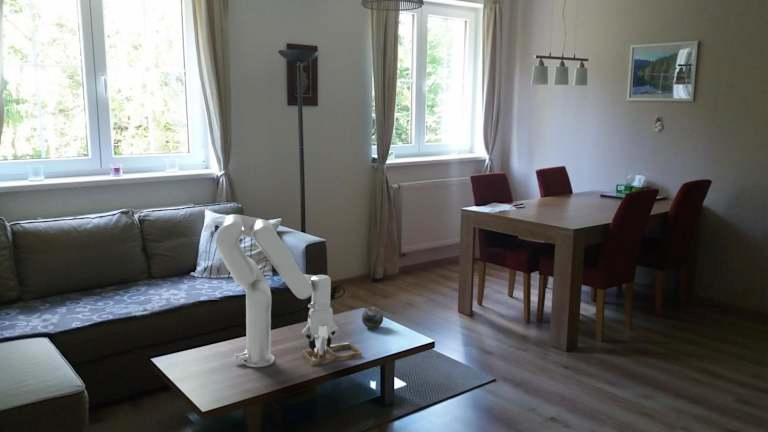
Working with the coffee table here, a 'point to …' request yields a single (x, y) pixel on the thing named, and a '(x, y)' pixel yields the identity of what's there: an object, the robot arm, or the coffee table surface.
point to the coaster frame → (332, 354)
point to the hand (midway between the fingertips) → (319, 347)
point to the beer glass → (320, 343)
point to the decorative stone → (372, 317)
